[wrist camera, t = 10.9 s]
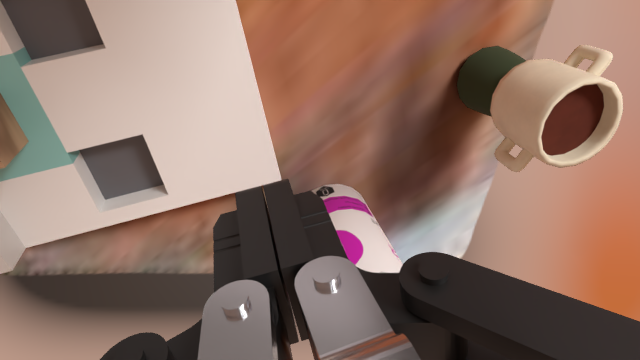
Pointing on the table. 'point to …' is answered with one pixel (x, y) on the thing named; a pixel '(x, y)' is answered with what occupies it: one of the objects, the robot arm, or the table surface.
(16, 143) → the walnut block
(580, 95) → the character mug
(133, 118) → the board
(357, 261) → the supplement can
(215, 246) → the robot arm
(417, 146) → the table surface
